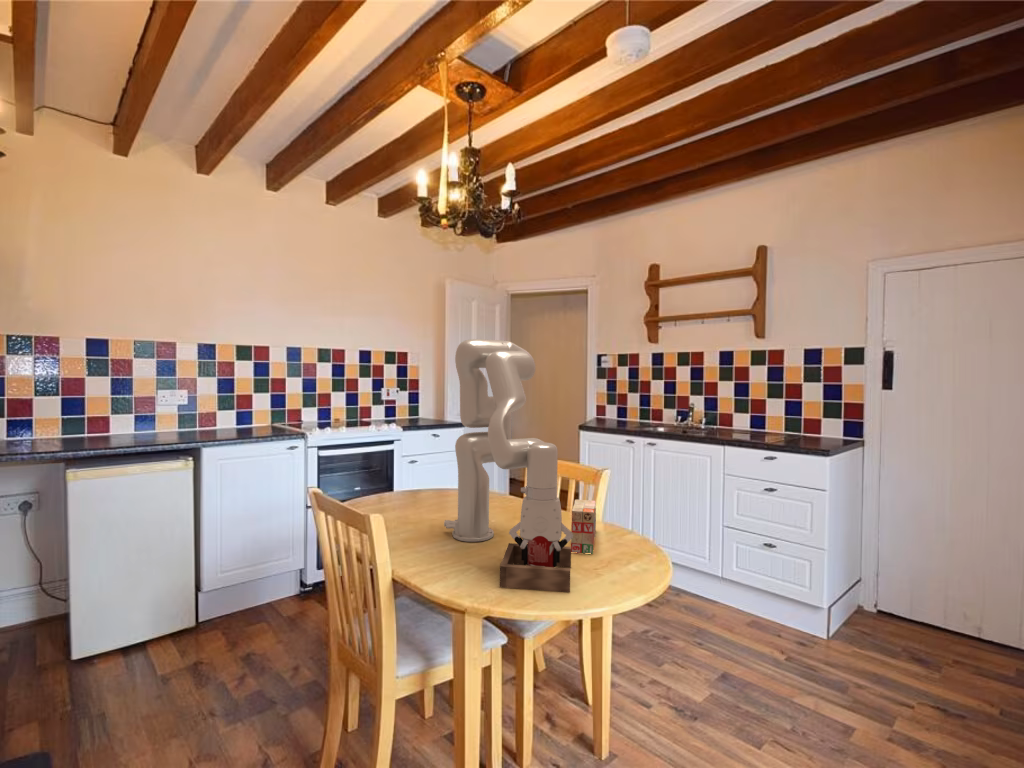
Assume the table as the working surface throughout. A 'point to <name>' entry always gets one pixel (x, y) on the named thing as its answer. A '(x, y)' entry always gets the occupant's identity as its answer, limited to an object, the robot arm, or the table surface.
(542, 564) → the soda can
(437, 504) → the table surface
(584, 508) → the stack of blocks
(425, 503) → the table surface
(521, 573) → the open-side box
